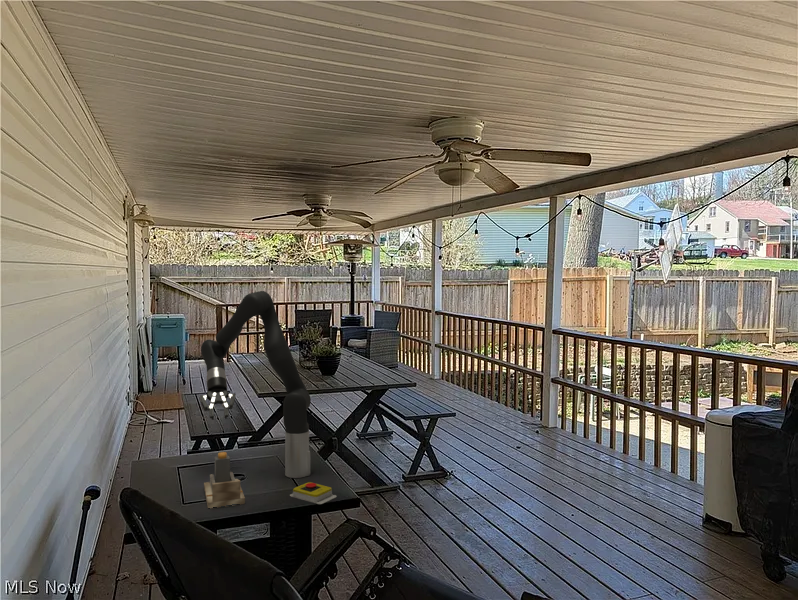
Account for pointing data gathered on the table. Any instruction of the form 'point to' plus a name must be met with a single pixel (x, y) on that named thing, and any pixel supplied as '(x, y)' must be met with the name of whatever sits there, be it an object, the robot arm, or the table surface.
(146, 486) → the table surface
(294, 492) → the emergency button
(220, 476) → the orange-capped grey pillar
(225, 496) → the track
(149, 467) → the table surface
